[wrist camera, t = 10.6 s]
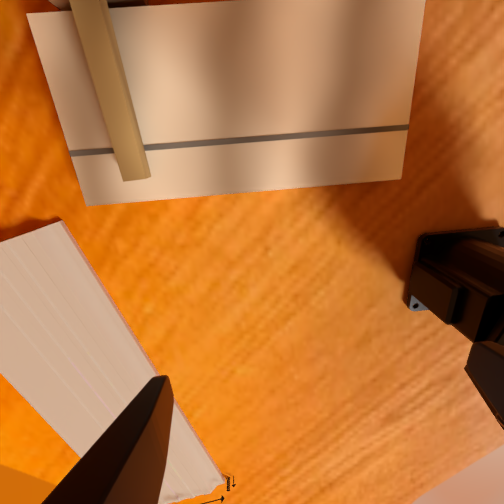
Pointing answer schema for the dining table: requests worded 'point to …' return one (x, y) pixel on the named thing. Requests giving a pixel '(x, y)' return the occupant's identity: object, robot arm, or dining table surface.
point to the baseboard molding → (82, 354)
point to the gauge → (110, 80)
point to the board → (242, 94)
